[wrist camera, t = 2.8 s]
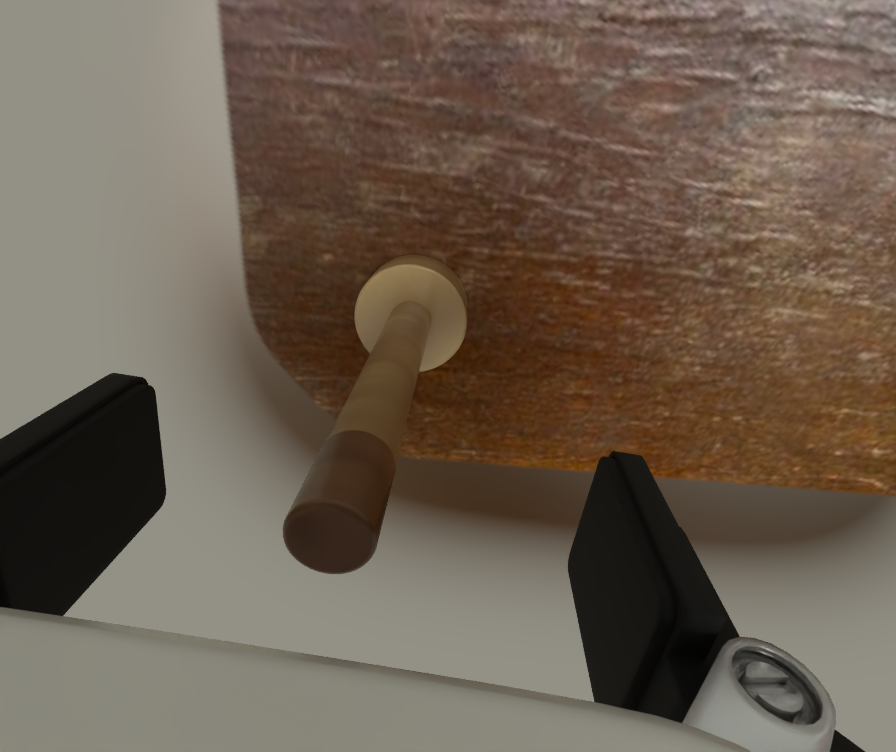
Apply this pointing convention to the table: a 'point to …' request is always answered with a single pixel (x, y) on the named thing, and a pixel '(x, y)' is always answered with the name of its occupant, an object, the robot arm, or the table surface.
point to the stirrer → (375, 411)
